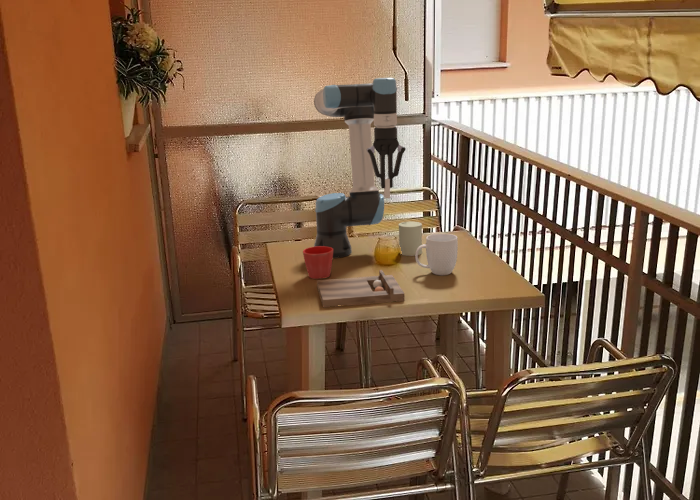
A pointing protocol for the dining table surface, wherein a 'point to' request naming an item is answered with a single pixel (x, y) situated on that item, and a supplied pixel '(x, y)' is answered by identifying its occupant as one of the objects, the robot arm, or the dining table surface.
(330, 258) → the flower pot
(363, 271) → the dining table surface
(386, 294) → the board
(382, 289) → the ball terracotta
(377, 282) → the ball white
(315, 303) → the dining table surface
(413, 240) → the can
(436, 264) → the mug
